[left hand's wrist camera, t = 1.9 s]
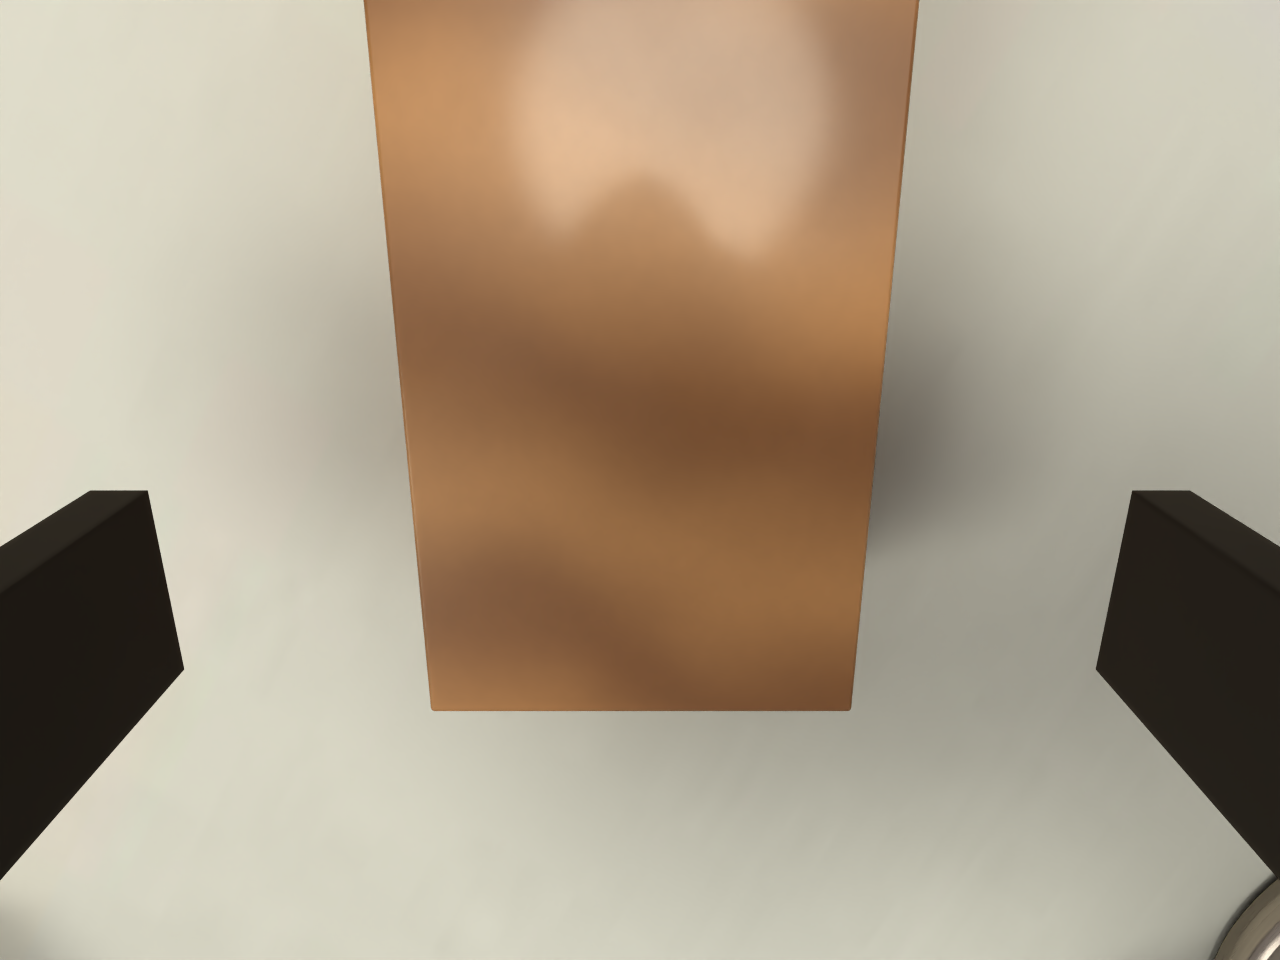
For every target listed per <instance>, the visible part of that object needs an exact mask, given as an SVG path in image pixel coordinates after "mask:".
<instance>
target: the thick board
mask: <svg viewBox="0 0 1280 960" xmlns="http://www.w3.org/2000/svg"><path fill="white" fill-rule="evenodd" d="M918 8H919V0H364V9H365V20H366V30H367V41H368V51H369V62H370V72H371V83H372V93H373V104H374V114H375V125H376V135H377V146H378V156H379V167H380V177H381V188H382V198H383V209H384V219H385V230H386V240H387V251H388V261H389V272H390V282H391V293H392V303H393V314H394V324H395V335H396V345H397V356H398V366H399V377H400V387H401V398H402V408H403V419H404V429H405V440H406V450H407V461H408V471H409V482H410V492H411V503H412V513H413V524H414V534H415V545H416V555H417V566H418V576H419V587H420V597H421V608H422V618H423V629H424V639H425V650H426V660H427V671H428V681H429V691H430V702H431V709H432V710H433V711H849V710H850V709H851V704H852V694H853V683H854V673H855V662H856V652H857V642H858V631H859V621H860V611H861V600H862V590H863V579H864V569H865V559H866V548H867V538H868V527H869V517H870V507H871V496H872V486H873V475H874V465H875V455H876V444H877V434H878V424H879V413H880V403H881V392H882V382H883V372H884V361H885V351H886V340H887V330H888V320H889V309H890V299H891V289H892V278H893V268H894V257H895V247H896V237H897V226H898V216H899V205H900V195H901V185H902V174H903V164H904V154H905V143H906V133H907V122H908V112H909V102H910V91H911V81H912V70H913V60H914V50H915V39H916V29H917V18H918Z"/></svg>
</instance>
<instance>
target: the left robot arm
mask: <svg viewBox="0 0 1280 960" xmlns="http://www.w3.org/2000/svg"><path fill="white" fill-rule="evenodd" d="M183 670H184V666H183V661H182V656H181V651H180V646H179V642H178V637H177V632H176V627H175V622H174V617H173V612H172V607H171V602H170V598H169V593H168V588H167V583H166V578H165V573H164V568H163V563H162V558H161V553H160V549H159V544H158V539H157V534H156V529H155V524H154V519H153V514H152V509H151V504H150V500H149V495H148V491H89V492H87V493H86V494H84V495H82V496H81V497H79V498H78V499H76V500H74V501H73V502H71V503H70V504H68V505H66V506H65V507H63V508H62V509H60V510H58V511H57V512H55V513H54V514H52V515H50V516H49V517H47V518H46V519H44V520H42V521H41V522H39V523H38V524H36V525H34V526H33V527H31V528H30V529H28V530H26V531H25V532H23V533H22V534H20V535H18V536H17V537H15V538H14V539H12V540H10V541H9V542H7V543H6V544H4V545H2V546H1V547H0V880H1V879H2V878H3V877H4V875H5V874H6V873H7V872H8V871H9V870H10V868H11V867H12V866H13V865H14V864H15V863H16V862H17V860H18V859H19V858H20V857H21V856H22V855H23V854H24V852H25V851H26V850H27V849H28V848H29V847H30V846H31V844H32V843H33V842H34V841H35V840H36V839H37V838H38V836H39V835H40V834H41V833H42V832H43V831H44V830H45V828H46V827H47V826H48V825H49V824H50V823H51V821H52V820H53V819H54V818H55V817H56V816H57V815H58V813H59V812H60V811H61V810H62V809H63V808H64V807H65V805H66V804H67V803H68V802H69V801H70V800H71V799H72V797H73V796H74V795H75V794H76V793H77V792H78V791H79V789H80V788H81V787H82V786H83V785H84V784H85V782H86V781H87V780H88V779H89V778H90V777H91V776H92V774H93V773H94V772H95V771H96V770H97V769H98V768H99V766H100V765H101V764H102V763H103V762H104V761H105V760H106V758H107V757H108V756H109V755H110V754H111V753H112V752H113V750H114V749H115V748H116V747H117V746H118V745H119V743H120V742H121V741H122V740H123V739H124V738H125V737H126V735H127V734H128V733H129V732H130V731H131V730H132V729H133V727H134V726H135V725H136V724H137V723H138V722H139V721H140V719H141V718H142V717H143V716H144V715H145V714H146V713H147V711H148V710H149V709H150V708H151V707H152V706H153V704H154V703H155V702H156V701H157V700H158V699H159V698H160V696H161V695H162V694H163V693H164V692H165V691H166V690H167V688H168V687H169V686H170V685H171V684H172V683H173V682H174V680H175V679H176V678H177V677H178V676H179V675H180V674H181V672H182V671H183ZM1096 670H1097V671H1098V672H1099V674H1100V675H1101V676H1102V677H1103V678H1104V679H1105V680H1106V682H1107V683H1108V684H1109V685H1110V686H1111V687H1112V688H1113V690H1114V691H1115V692H1116V693H1117V694H1118V695H1119V696H1120V698H1121V699H1122V700H1123V701H1124V702H1125V703H1126V704H1127V706H1128V707H1129V708H1130V709H1131V710H1132V711H1133V713H1134V714H1135V715H1136V716H1137V717H1138V718H1139V719H1140V721H1141V722H1142V723H1143V724H1144V725H1145V726H1146V727H1147V729H1148V730H1149V731H1150V732H1151V733H1152V734H1153V735H1154V737H1155V738H1156V739H1157V740H1158V741H1159V742H1160V743H1161V745H1162V746H1163V747H1164V748H1165V749H1166V750H1167V752H1168V753H1169V754H1170V755H1171V756H1172V757H1173V758H1174V760H1175V761H1176V762H1177V763H1178V764H1179V765H1180V766H1181V768H1182V769H1183V770H1184V771H1185V772H1186V773H1187V774H1188V776H1189V777H1190V778H1191V779H1192V780H1193V781H1194V782H1195V784H1196V785H1197V786H1198V787H1199V788H1200V789H1201V791H1202V792H1203V793H1204V794H1205V795H1206V796H1207V797H1208V799H1209V800H1210V801H1211V802H1212V803H1213V804H1214V805H1215V807H1216V808H1217V809H1218V810H1219V811H1220V812H1221V813H1222V815H1223V816H1224V817H1225V818H1226V819H1227V820H1228V821H1229V823H1230V824H1231V825H1232V826H1233V827H1234V828H1235V830H1236V831H1237V832H1238V833H1239V834H1240V835H1241V836H1242V838H1243V839H1244V840H1245V841H1246V842H1247V843H1248V844H1249V846H1250V847H1251V848H1252V849H1253V850H1254V851H1255V852H1256V854H1257V855H1258V856H1259V857H1260V858H1261V859H1262V860H1263V862H1264V863H1265V864H1266V865H1267V866H1268V867H1269V868H1270V870H1271V871H1272V872H1273V873H1274V874H1275V875H1276V877H1277V878H1278V879H1277V880H1276V881H1275V882H1274V883H1272V884H1271V885H1270V886H1269V887H1268V888H1267V889H1266V890H1265V891H1264V892H1262V893H1261V894H1260V895H1259V896H1258V897H1257V898H1256V899H1255V900H1254V901H1253V902H1252V903H1251V905H1250V906H1249V907H1248V908H1247V909H1246V910H1245V911H1244V912H1243V913H1242V915H1241V916H1240V917H1239V919H1238V920H1237V921H1236V923H1235V924H1234V925H1233V927H1232V928H1231V929H1230V931H1229V933H1228V934H1227V936H1226V938H1225V939H1224V941H1223V943H1222V944H1221V946H1220V949H1219V951H1218V953H1217V955H1216V957H1215V959H1214V960H1280V547H1279V546H1278V545H1276V544H1274V543H1273V542H1271V541H1270V540H1268V539H1266V538H1265V537H1263V536H1262V535H1260V534H1258V533H1257V532H1255V531H1254V530H1252V529H1250V528H1249V527H1247V526H1246V525H1244V524H1242V523H1241V522H1239V521H1238V520H1236V519H1234V518H1233V517H1231V516H1230V515H1228V514H1226V513H1225V512H1223V511H1222V510H1220V509H1218V508H1217V507H1215V506H1214V505H1212V504H1210V503H1209V502H1207V501H1206V500H1204V499H1202V498H1201V497H1199V496H1198V495H1196V494H1194V493H1193V492H1191V491H1132V495H1131V500H1130V504H1129V509H1128V514H1127V519H1126V524H1125V529H1124V534H1123V539H1122V544H1121V549H1120V553H1119V558H1118V563H1117V568H1116V573H1115V578H1114V583H1113V588H1112V593H1111V597H1110V602H1109V607H1108V612H1107V617H1106V622H1105V627H1104V632H1103V637H1102V642H1101V646H1100V651H1099V656H1098V661H1097V666H1096Z"/></svg>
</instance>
